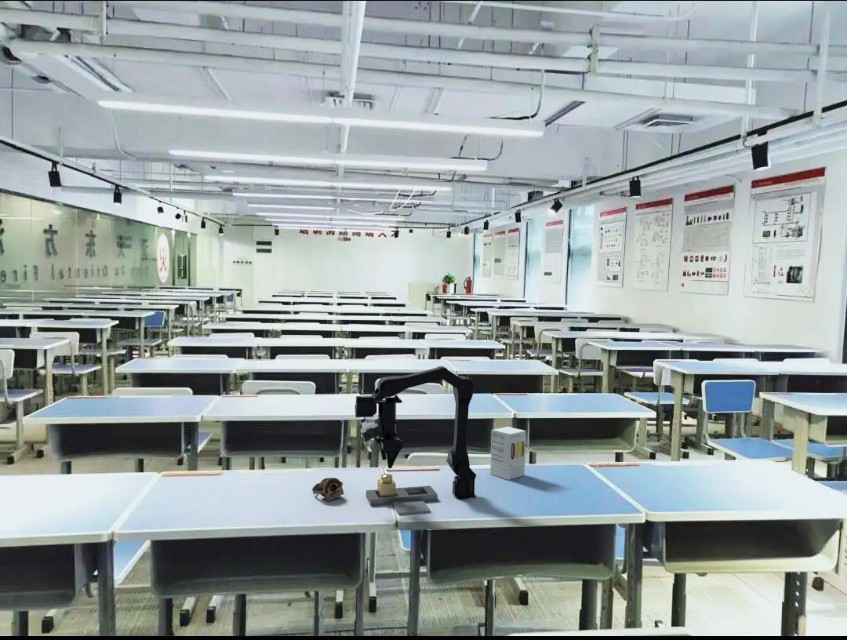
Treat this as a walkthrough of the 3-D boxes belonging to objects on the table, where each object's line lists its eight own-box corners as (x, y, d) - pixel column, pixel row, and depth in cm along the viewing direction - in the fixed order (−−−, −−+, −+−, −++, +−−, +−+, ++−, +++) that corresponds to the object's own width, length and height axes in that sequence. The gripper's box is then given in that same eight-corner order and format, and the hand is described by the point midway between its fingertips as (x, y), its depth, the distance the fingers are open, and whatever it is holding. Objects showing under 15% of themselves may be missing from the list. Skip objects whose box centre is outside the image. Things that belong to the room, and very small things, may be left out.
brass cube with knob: (392, 496, 208) (392, 472, 207) (395, 501, 203) (395, 477, 202) (377, 497, 206) (377, 473, 206) (380, 503, 201) (380, 478, 201)
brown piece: (311, 487, 199) (342, 478, 202) (307, 472, 211) (336, 463, 214) (316, 508, 201) (347, 499, 203) (312, 491, 213) (341, 483, 215)
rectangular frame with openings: (430, 491, 213) (430, 485, 213) (437, 500, 204) (437, 494, 204) (365, 496, 207) (365, 490, 207) (370, 505, 199) (370, 499, 198)
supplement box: (508, 480, 226) (509, 434, 225) (489, 474, 233) (490, 429, 232) (525, 475, 232) (526, 430, 231) (506, 469, 239) (507, 425, 238)
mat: (422, 501, 203) (422, 499, 203) (430, 512, 194) (430, 510, 194) (392, 503, 201) (392, 501, 201) (398, 514, 191) (398, 513, 191)
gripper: (357, 411, 209) (357, 457, 210) (367, 424, 192) (367, 474, 193) (390, 410, 212) (390, 455, 213) (403, 422, 194) (402, 471, 195)
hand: (386, 464), depth 204 cm, fingers open, 9 cm apart
